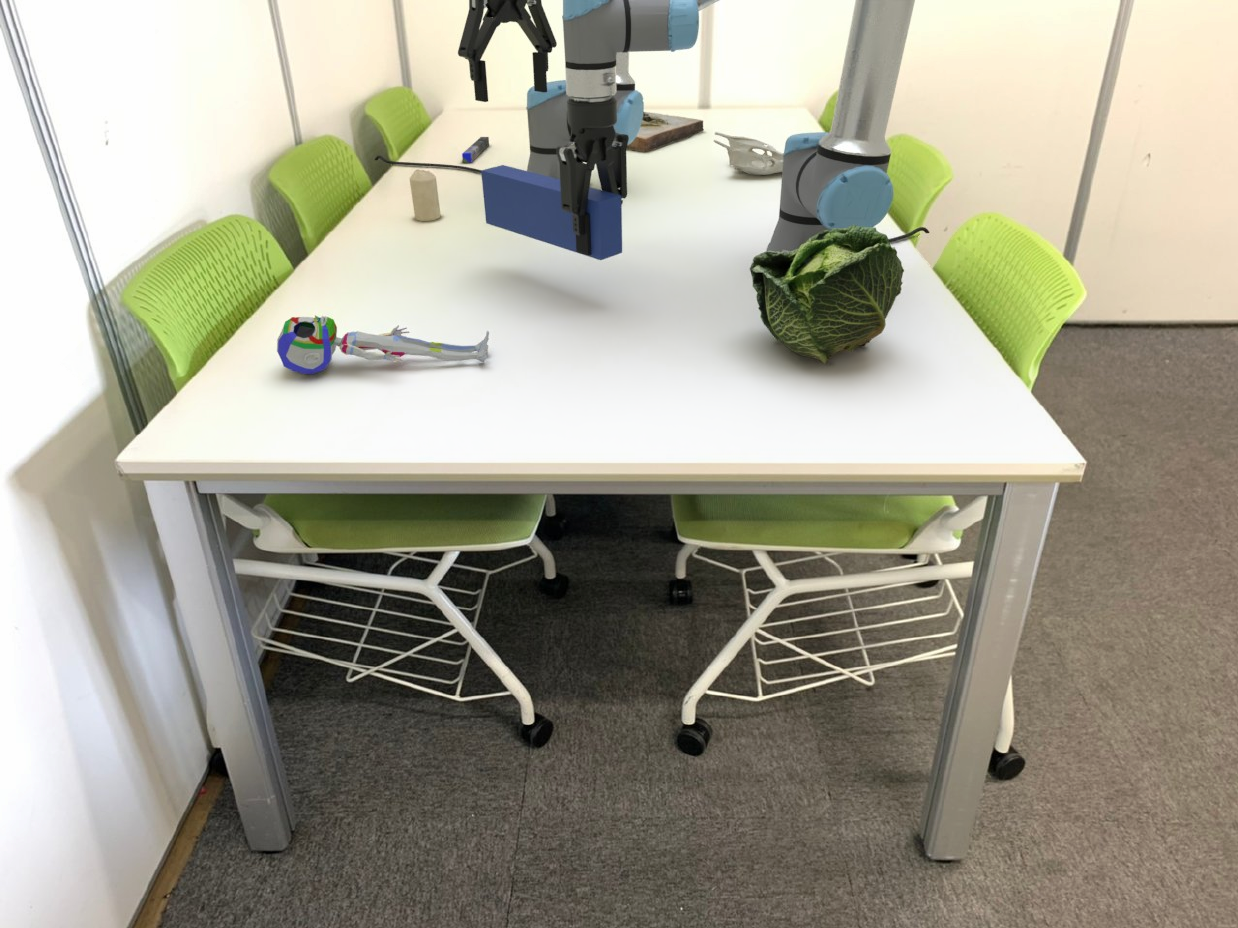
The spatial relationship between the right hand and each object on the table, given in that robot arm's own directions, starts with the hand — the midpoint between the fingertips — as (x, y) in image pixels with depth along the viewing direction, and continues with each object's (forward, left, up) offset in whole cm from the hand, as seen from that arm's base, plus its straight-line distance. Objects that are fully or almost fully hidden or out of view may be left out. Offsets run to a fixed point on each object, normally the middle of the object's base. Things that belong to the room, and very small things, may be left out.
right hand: (596, 248), depth 146 cm
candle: (+10, -63, -10) cm, 64 cm away
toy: (+37, +5, -10) cm, 39 cm away
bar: (+3, -11, -1) cm, 11 cm away
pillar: (-19, -112, -10) cm, 114 cm away
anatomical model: (-74, -56, -10) cm, 94 cm away
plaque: (-66, -109, -10) cm, 128 cm away
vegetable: (-22, +32, -10) cm, 40 cm away
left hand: (0, -32, +19) cm, 37 cm away
